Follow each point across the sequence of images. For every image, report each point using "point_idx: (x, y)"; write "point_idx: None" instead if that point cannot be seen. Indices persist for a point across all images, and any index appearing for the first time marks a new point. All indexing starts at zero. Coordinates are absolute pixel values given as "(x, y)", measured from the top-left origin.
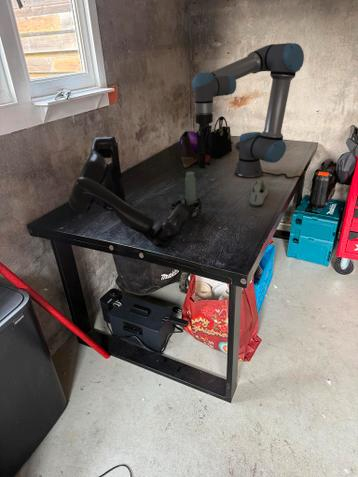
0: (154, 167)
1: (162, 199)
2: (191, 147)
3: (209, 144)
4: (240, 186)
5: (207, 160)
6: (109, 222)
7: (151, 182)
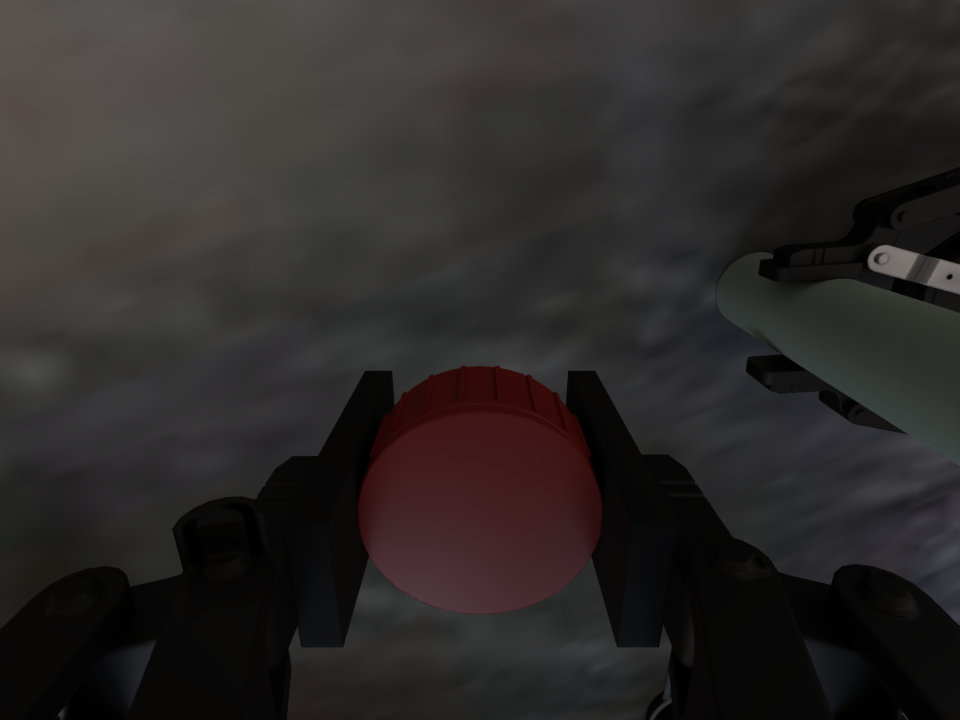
0: None
1: None
2: None
3: (162, 694)
4: (40, 56)
5: (551, 402)
6: None
7: (304, 708)
